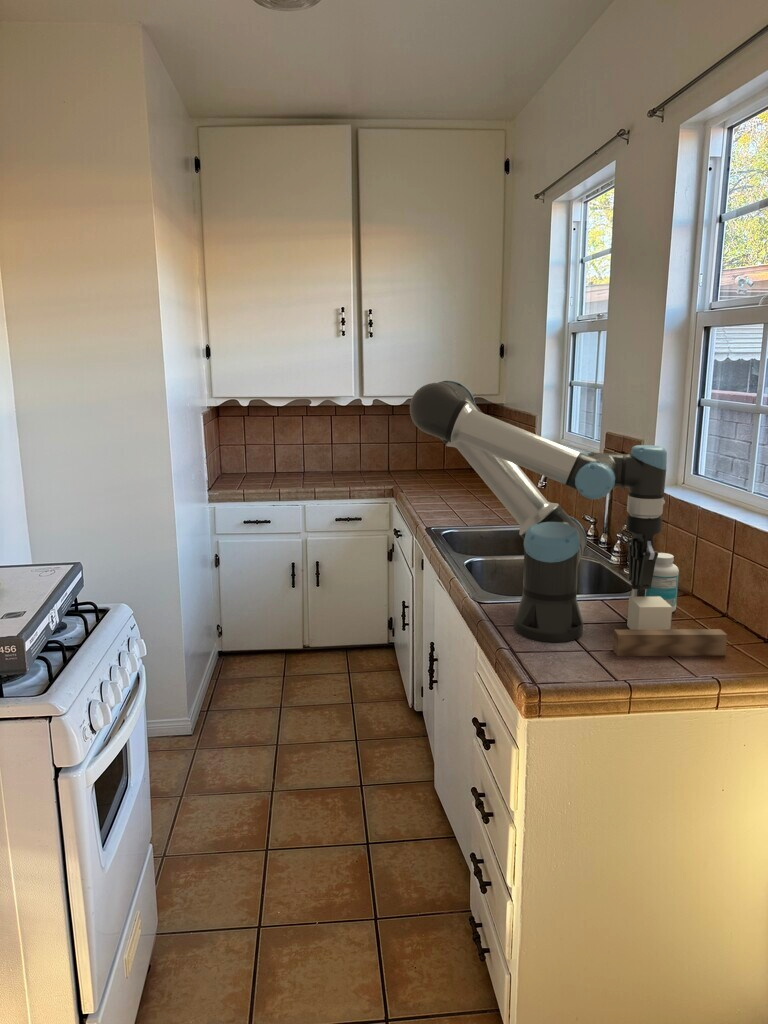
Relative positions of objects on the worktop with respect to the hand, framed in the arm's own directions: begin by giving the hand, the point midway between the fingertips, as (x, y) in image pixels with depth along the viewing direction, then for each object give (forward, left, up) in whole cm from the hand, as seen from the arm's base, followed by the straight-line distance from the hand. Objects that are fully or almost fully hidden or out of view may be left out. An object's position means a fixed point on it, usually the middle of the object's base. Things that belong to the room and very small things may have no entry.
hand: (637, 614), depth 169 cm
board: (0, -19, -1) cm, 19 cm away
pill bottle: (+8, +7, -2) cm, 11 cm away
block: (0, -7, -2) cm, 7 cm away
